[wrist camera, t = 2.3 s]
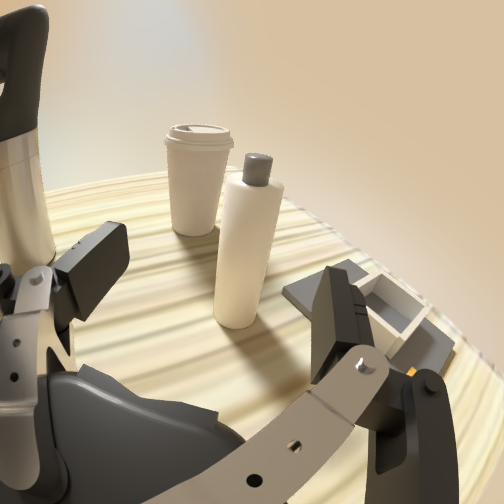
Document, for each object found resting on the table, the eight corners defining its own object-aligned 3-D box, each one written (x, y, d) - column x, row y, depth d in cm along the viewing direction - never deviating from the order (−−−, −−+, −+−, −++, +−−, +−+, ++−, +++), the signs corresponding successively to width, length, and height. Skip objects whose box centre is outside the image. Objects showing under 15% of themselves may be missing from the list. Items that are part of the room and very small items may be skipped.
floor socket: (281, 293, 31) (289, 265, 29) (346, 264, 39) (355, 241, 36) (410, 413, 19) (435, 392, 17) (450, 347, 26) (468, 326, 24)
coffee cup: (171, 209, 45) (174, 121, 37) (226, 215, 46) (237, 126, 37) (154, 238, 37) (154, 131, 29) (220, 246, 38) (233, 137, 29)
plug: (205, 306, 28) (217, 150, 19) (240, 293, 30) (264, 149, 22) (227, 335, 25) (252, 167, 16) (264, 319, 28) (301, 165, 19)
